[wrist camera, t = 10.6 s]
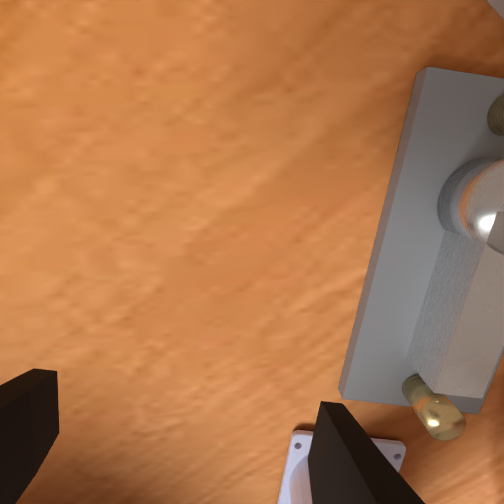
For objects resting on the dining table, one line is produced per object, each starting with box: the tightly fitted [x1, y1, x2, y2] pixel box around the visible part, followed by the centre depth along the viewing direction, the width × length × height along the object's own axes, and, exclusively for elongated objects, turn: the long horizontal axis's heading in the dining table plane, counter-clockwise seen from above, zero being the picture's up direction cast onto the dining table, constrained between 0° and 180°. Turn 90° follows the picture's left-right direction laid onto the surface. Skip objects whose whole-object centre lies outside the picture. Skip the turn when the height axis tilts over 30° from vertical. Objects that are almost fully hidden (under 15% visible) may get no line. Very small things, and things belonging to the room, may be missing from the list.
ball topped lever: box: [406, 157, 504, 399], centre depth 16 cm, size 12×4×3 cm, turn 172°
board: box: [338, 67, 504, 414], centre depth 18 cm, size 19×9×1 cm, turn 172°
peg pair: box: [402, 94, 504, 441], centre depth 16 cm, size 18×2×3 cm, turn 172°
